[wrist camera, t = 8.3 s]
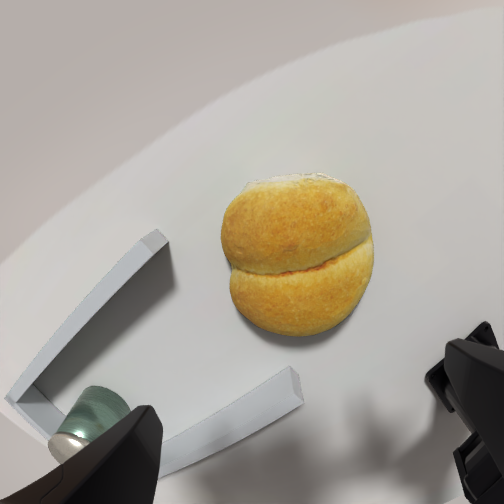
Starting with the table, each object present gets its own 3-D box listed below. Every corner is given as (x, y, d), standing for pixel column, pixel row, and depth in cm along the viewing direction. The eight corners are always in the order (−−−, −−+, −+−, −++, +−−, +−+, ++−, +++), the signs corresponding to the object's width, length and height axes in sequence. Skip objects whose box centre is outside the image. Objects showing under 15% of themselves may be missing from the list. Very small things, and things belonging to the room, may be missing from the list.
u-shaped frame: (298, 374, 20) (304, 402, 18) (126, 470, 24) (118, 493, 21) (156, 228, 18) (139, 239, 15) (20, 380, 21) (4, 398, 18)
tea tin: (112, 433, 22) (89, 485, 16) (71, 398, 22) (39, 447, 16) (143, 414, 22) (120, 472, 16) (98, 375, 21) (63, 429, 15)
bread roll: (240, 330, 20) (237, 365, 16) (215, 184, 18) (204, 188, 14) (368, 310, 20) (391, 340, 16) (359, 166, 17) (386, 166, 14)
